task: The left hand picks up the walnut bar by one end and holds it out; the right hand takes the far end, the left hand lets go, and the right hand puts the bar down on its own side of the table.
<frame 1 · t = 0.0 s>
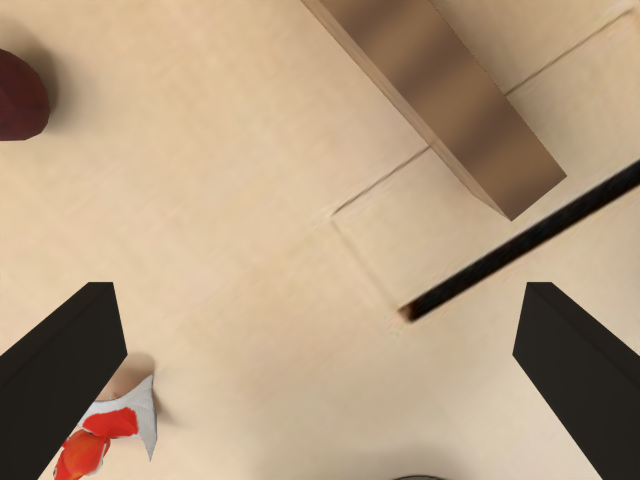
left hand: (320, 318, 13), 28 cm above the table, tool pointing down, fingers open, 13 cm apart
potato: (27, 95, 37), on the table
bar: (412, 81, 36), on the table
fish: (119, 401, 49), on the table
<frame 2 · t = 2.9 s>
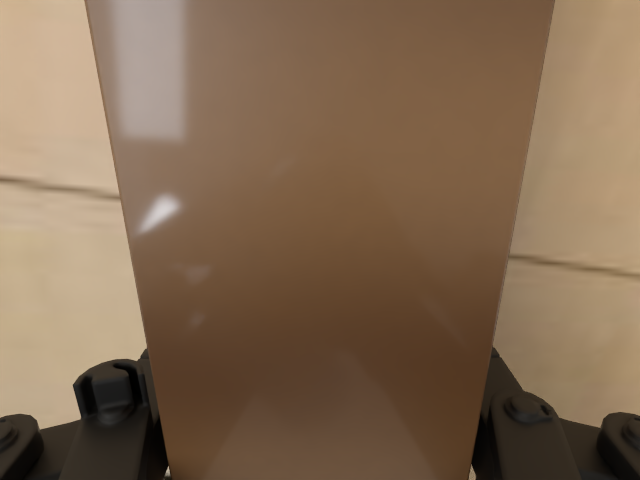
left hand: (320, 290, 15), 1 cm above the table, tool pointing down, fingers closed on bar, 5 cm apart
bar: (319, 40, 12), on the table, touching left hand
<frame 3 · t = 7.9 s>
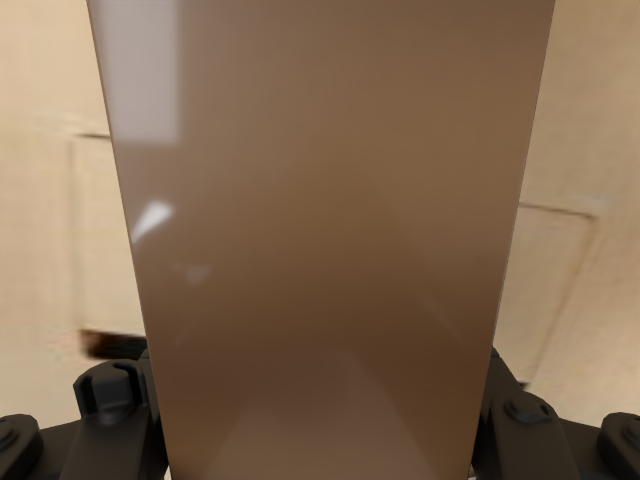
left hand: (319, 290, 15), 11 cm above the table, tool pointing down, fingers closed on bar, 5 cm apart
bar: (320, 40, 12), point 10 cm above the table, touching left hand, right hand
when the left hand's fingers open (11 cm above the table, at t = 8.5 s): bar stays where it is, held by the right hand.
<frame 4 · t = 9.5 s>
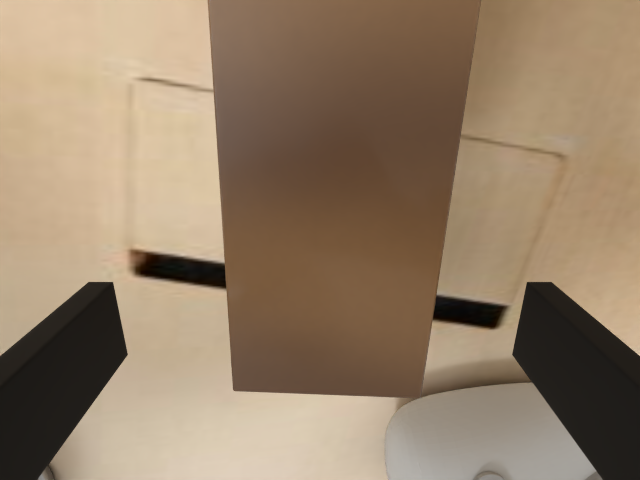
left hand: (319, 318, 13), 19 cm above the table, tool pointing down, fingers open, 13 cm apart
projector: (502, 427, 39), on the table
when the right hand's fingers open (2 cm above the table, at t = 12.1 s): bar drops 2 cm, on the table.
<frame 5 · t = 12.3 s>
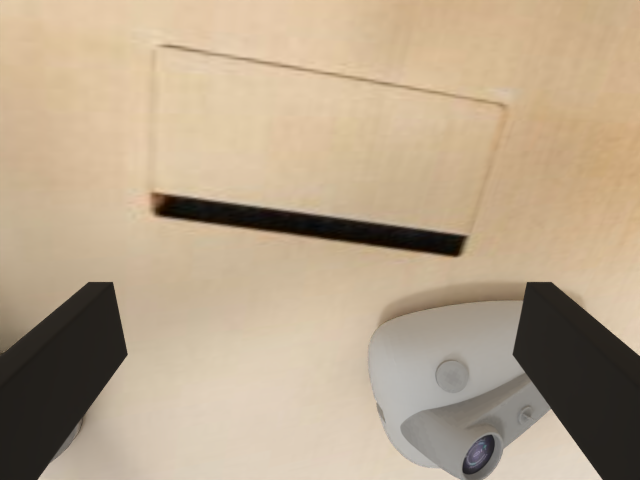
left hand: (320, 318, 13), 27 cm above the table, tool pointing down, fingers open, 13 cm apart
projector: (468, 346, 46), on the table
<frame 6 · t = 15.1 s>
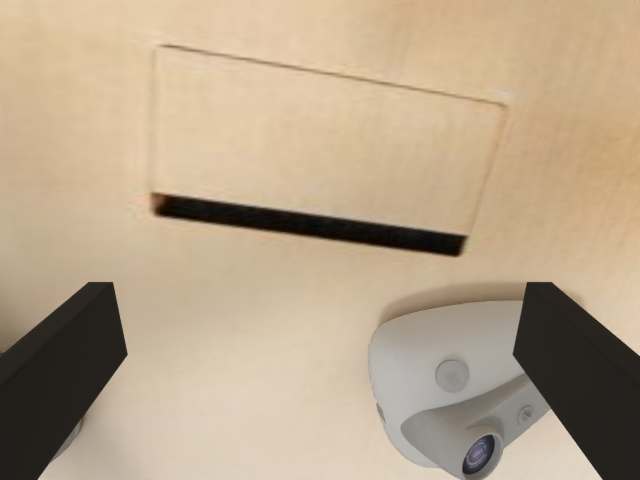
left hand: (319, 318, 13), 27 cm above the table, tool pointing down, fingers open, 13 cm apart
projector: (468, 346, 46), on the table
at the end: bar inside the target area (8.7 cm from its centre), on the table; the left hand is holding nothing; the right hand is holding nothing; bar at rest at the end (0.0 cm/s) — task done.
